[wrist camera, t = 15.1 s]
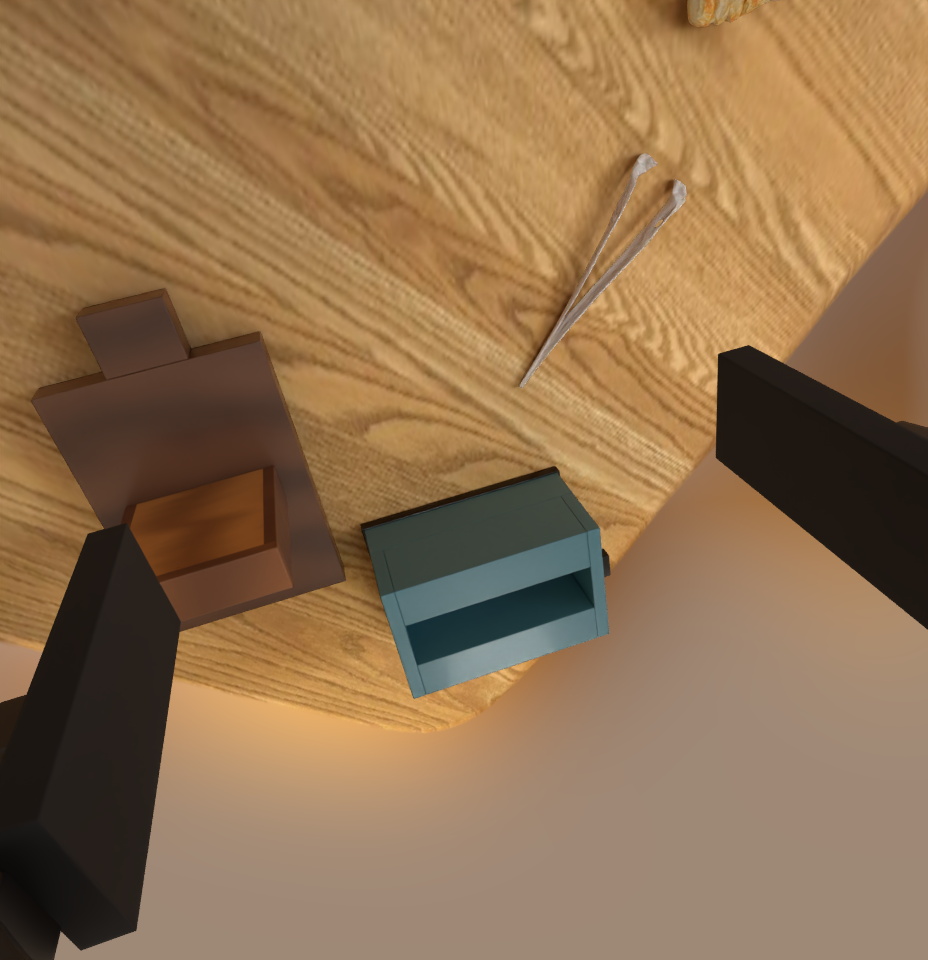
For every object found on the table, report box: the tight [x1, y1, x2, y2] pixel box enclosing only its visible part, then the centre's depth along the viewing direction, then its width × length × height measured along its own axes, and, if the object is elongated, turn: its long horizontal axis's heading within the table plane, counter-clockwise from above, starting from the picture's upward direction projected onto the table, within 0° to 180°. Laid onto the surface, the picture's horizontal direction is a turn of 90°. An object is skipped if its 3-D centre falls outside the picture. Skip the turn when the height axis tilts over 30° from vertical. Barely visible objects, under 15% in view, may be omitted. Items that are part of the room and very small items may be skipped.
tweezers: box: [519, 153, 686, 388], centre depth 48 cm, size 17×5×2 cm, turn 147°
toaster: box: [361, 467, 610, 699], centre depth 54 cm, size 17×11×9 cm, turn 100°
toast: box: [120, 466, 293, 621], centre depth 43 cm, size 10×3×10 cm, turn 100°
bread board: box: [31, 289, 346, 632], centre depth 47 cm, size 24×14×2 cm, turn 10°
